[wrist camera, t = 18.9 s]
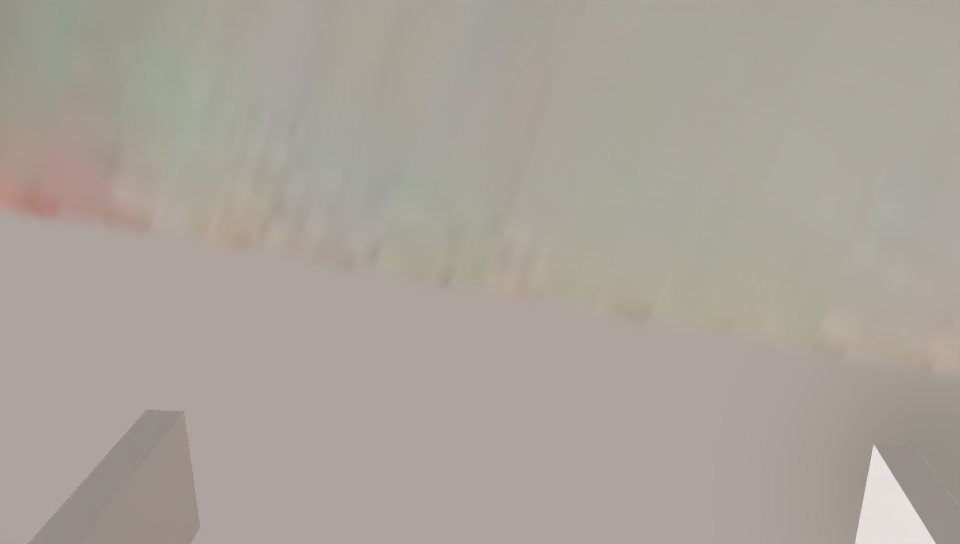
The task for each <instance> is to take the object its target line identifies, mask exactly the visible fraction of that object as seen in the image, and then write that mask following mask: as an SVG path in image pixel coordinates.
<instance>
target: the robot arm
mask: <svg viewBox="0 0 960 544" xmlns="http://www.w3.org/2000/svg"><path fill="white" fill-rule="evenodd" d="M199 529H200V524H199V517H198V509H197V502H196V494H195V487H194V479H193V472H192V464H191V457H190V450H189V443H188V435H187V428H186V420H185V413H184V412H179V411H160V410H146V411H145V412H144V414H143V415H142V416H141V417H140V418H139V419H138V420H137V421H136V423H135V424H134V425H133V426H132V427H131V428H130V429H129V430H128V432H127V433H126V434H125V435H124V436H123V437H122V438H121V440H120V441H119V442H118V443H117V444H116V445H115V446H114V447H113V449H112V450H111V451H110V452H109V453H108V454H107V455H106V456H105V458H104V459H103V460H102V461H101V462H100V463H99V464H98V465H97V467H96V468H95V469H94V470H93V471H92V472H91V473H90V474H89V476H88V477H87V478H86V479H85V480H84V481H83V482H82V483H81V485H80V486H79V487H78V488H77V489H76V490H75V491H74V492H73V494H72V495H71V496H70V497H69V498H68V499H67V500H66V502H65V503H64V504H63V505H62V506H61V507H60V508H59V509H58V511H57V512H56V513H55V514H54V515H53V516H52V517H51V519H50V520H49V521H48V522H47V523H46V524H45V525H44V526H43V527H42V529H41V530H40V531H39V532H38V533H37V534H36V535H35V537H34V538H33V539H32V540H31V541H30V542H29V543H28V544H191V542H192V540H193V539H194V537H195V535H196V534H197V532H198V530H199ZM855 544H960V507H959V505H958V504H957V503H956V501H955V499H954V498H953V497H952V496H951V494H950V492H949V491H948V490H947V488H946V487H945V485H944V484H943V483H942V481H941V480H940V478H939V477H938V475H937V474H936V473H935V471H934V470H933V468H932V467H931V466H930V464H929V463H928V461H927V460H926V459H925V457H924V456H923V454H922V453H921V452H920V450H919V449H918V447H915V446H893V445H874V447H873V452H872V457H871V463H870V468H869V473H868V479H867V484H866V489H865V494H864V500H863V505H862V510H861V515H860V520H859V526H858V531H857V536H856V542H855Z"/></svg>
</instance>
